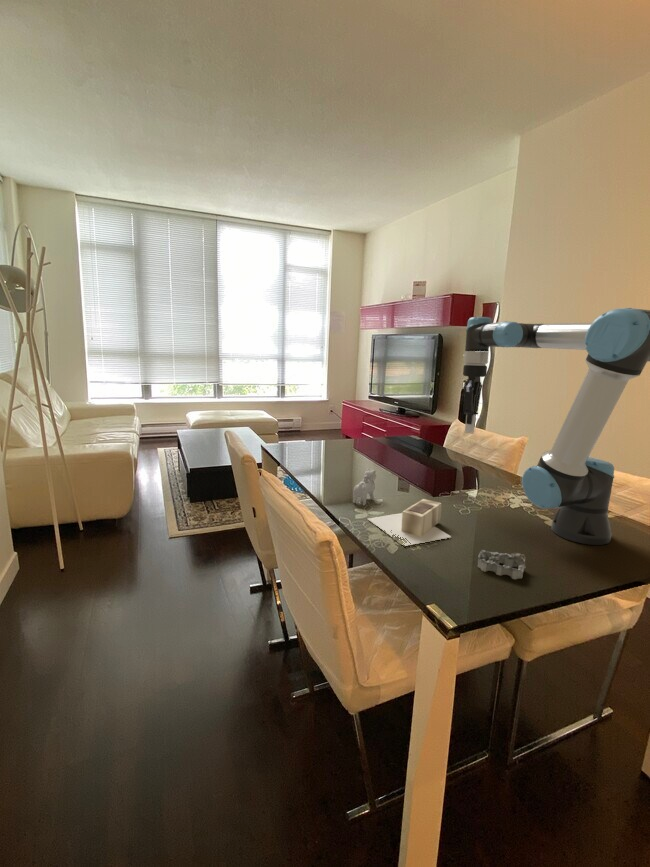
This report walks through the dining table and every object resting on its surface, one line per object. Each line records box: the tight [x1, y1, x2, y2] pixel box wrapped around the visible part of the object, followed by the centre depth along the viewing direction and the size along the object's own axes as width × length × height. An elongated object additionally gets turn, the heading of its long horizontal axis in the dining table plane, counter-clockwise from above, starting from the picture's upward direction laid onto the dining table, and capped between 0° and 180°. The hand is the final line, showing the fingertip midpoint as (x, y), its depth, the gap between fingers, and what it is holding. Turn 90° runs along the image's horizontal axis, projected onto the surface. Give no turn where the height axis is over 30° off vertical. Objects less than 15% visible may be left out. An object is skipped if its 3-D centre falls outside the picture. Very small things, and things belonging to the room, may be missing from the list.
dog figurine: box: [352, 468, 377, 506], centre depth 148 cm, size 5×13×11 cm, turn 151°
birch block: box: [401, 498, 442, 537], centre depth 126 cm, size 6×6×14 cm
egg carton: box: [477, 549, 527, 580], centre depth 104 cm, size 11×8×4 cm
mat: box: [367, 512, 452, 546], centre depth 126 cm, size 20×16×1 cm
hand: (469, 432), depth 148 cm, fingers closed
